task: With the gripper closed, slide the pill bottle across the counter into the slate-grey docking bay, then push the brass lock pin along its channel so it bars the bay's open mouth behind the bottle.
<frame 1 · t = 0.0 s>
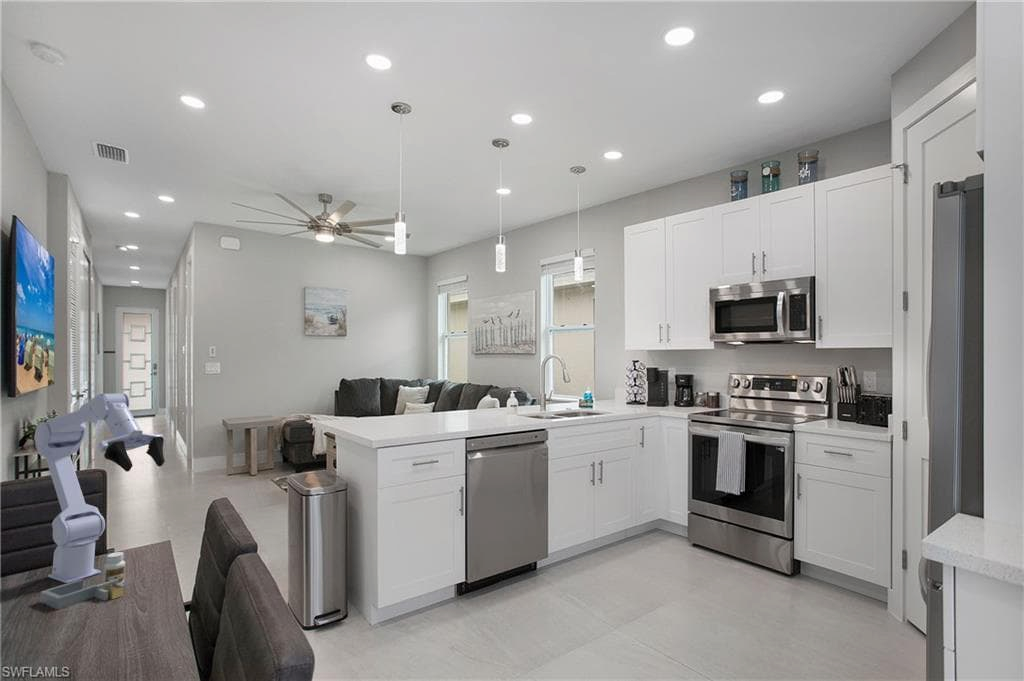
hand: (146, 466, 128), 32 cm above the table, tool tilted 50°, fingers open, 7 cm apart
lock bar: (111, 591, 127), point 1 cm above the table, slide at 0.0 cm
dock bay: (67, 599, 124), on the table
pill bottle: (113, 585, 133), on the table
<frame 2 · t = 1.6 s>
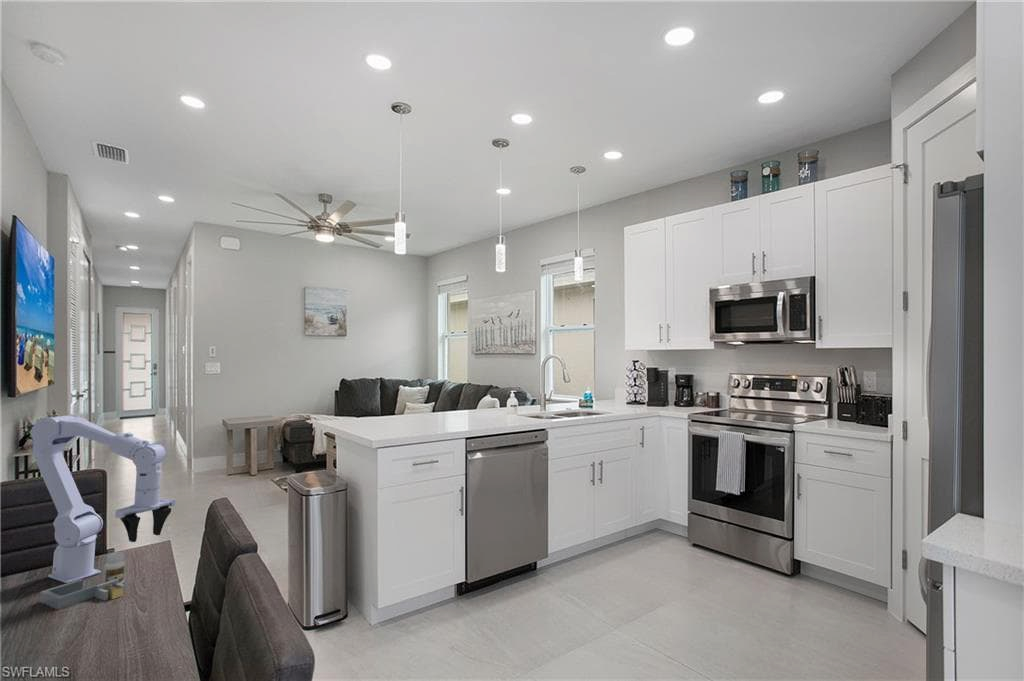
hand: (144, 537, 140), 10 cm above the table, tool pointing down, fingers open, 6 cm apart
nothing on the table moved.
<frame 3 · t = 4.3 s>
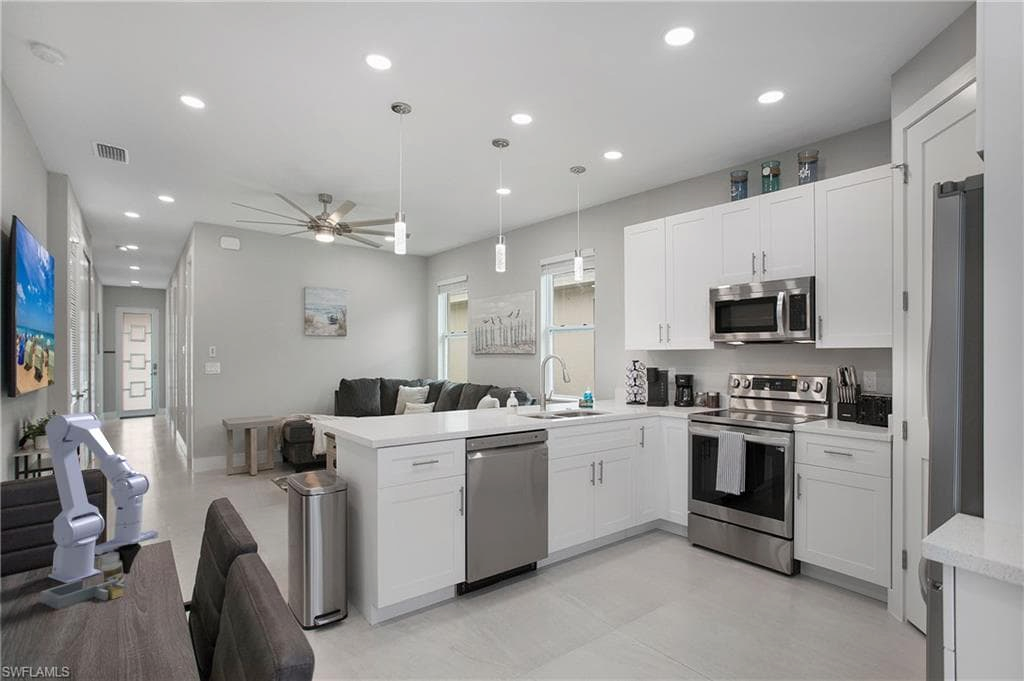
hand: (125, 573, 135), 2 cm above the table, tool pointing down, fingers closed, pressing on pill bottle
pill bottle: (113, 583, 133), on the table, touching gripper
everything else where it was.
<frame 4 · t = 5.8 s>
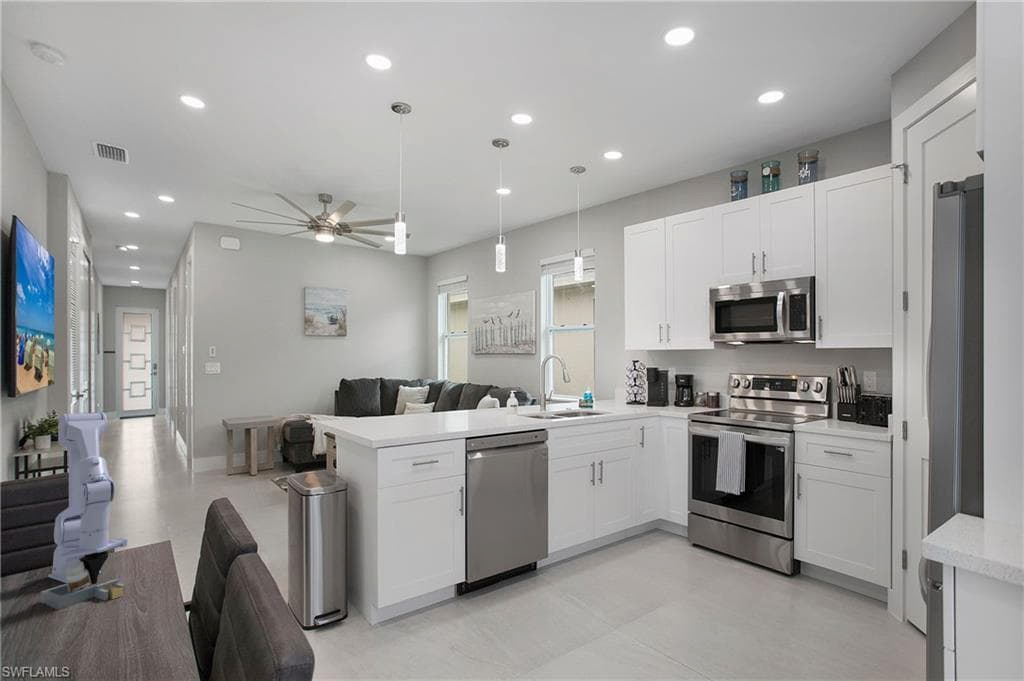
hand: (91, 583, 128), 2 cm above the table, tool pointing down, fingers closed, pressing on pill bottle
pill bottle: (82, 593, 126), on the table, touching gripper
everything else where it was.
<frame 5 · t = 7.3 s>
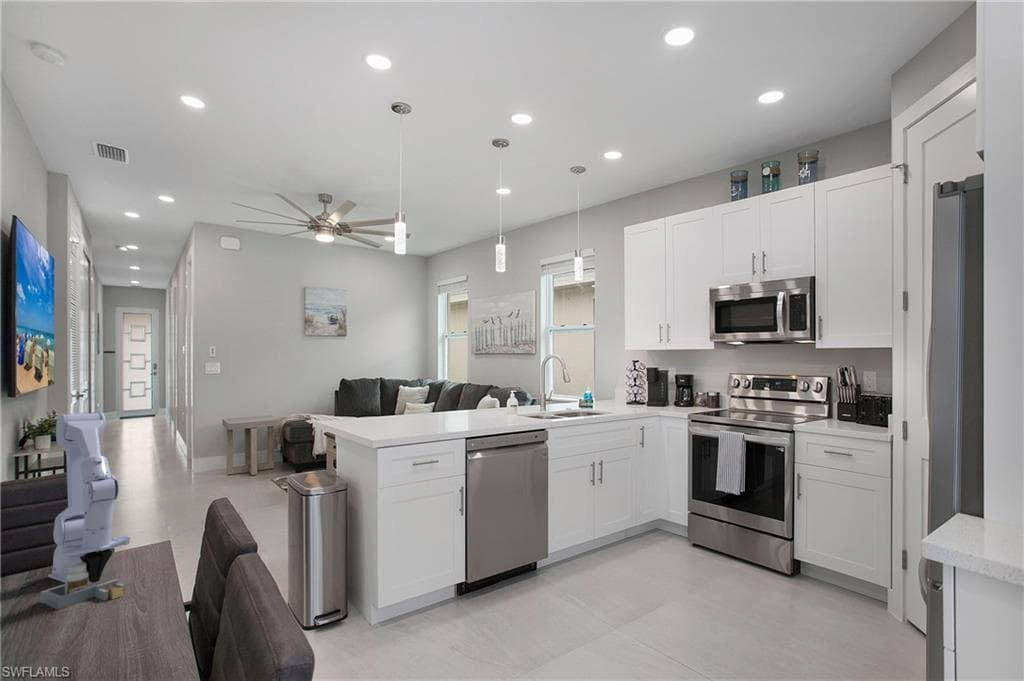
hand: (94, 581, 129), 2 cm above the table, tool pointing down, fingers closed
pill bottle: (76, 597, 125), on the table, touching gripper
everything else where it was.
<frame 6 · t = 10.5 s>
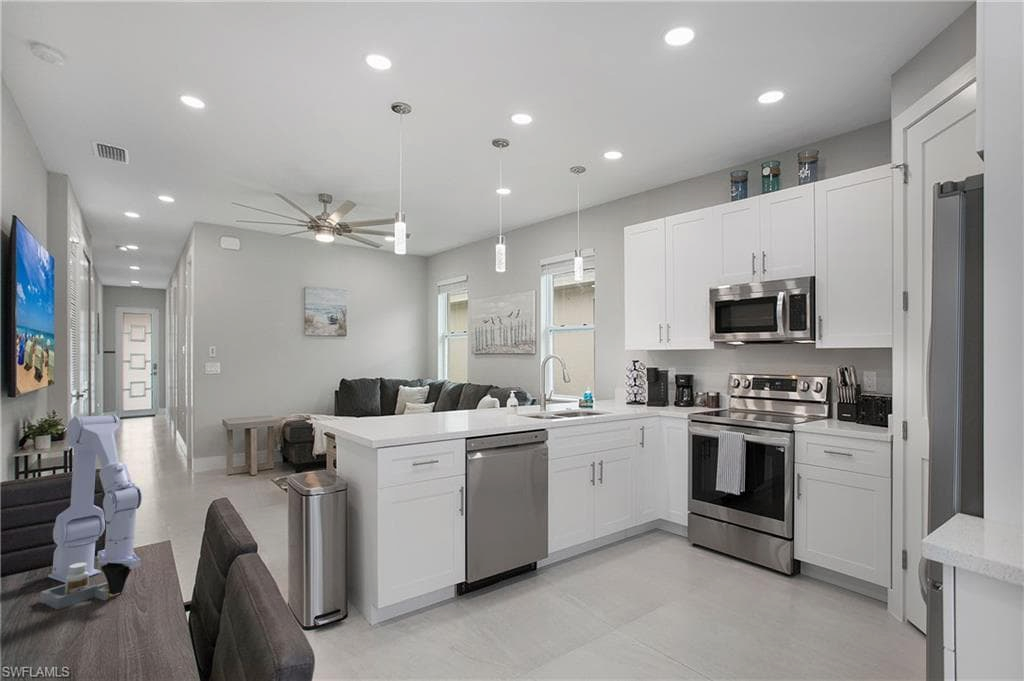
hand: (116, 592, 126), 1 cm above the table, tool pointing down, fingers closed
lock bar: (107, 589, 127), point 1 cm above the table, slide at 1.6 cm, touching gripper
pill bottle: (76, 597, 125), on the table
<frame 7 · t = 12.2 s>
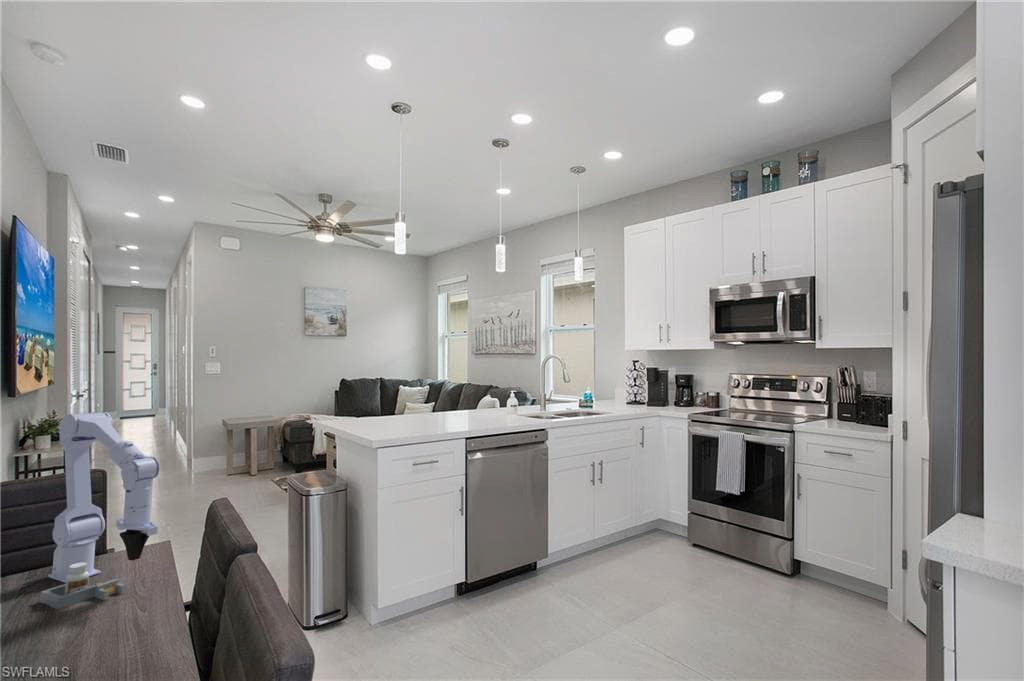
hand: (134, 559, 130), 8 cm above the table, tool pointing down, fingers closed
lock bar: (103, 588, 128), point 1 cm above the table, slide at 3.1 cm
everything else where it was.
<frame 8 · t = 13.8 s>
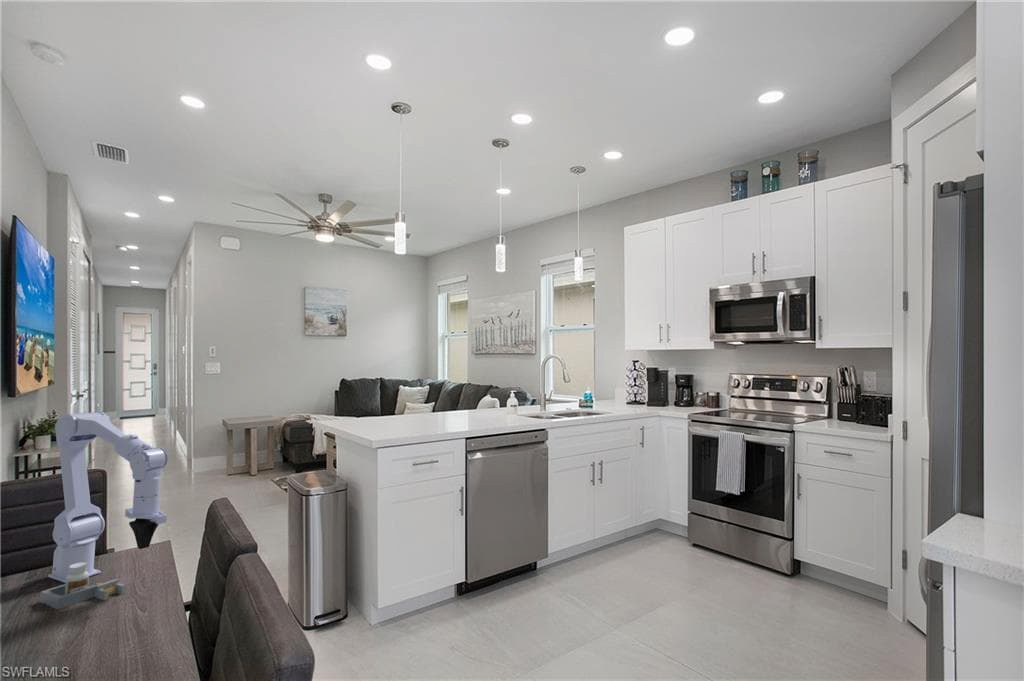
hand: (143, 547, 133), 10 cm above the table, tool pointing down, fingers closed
nothing on the table moved.
at the end: pill bottle 1.4 cm off-centre on the dock bay, point 0.0 cm above the dock bay's base; pill bottle tilted 0°; lock bar slide at 3.1 cm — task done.
